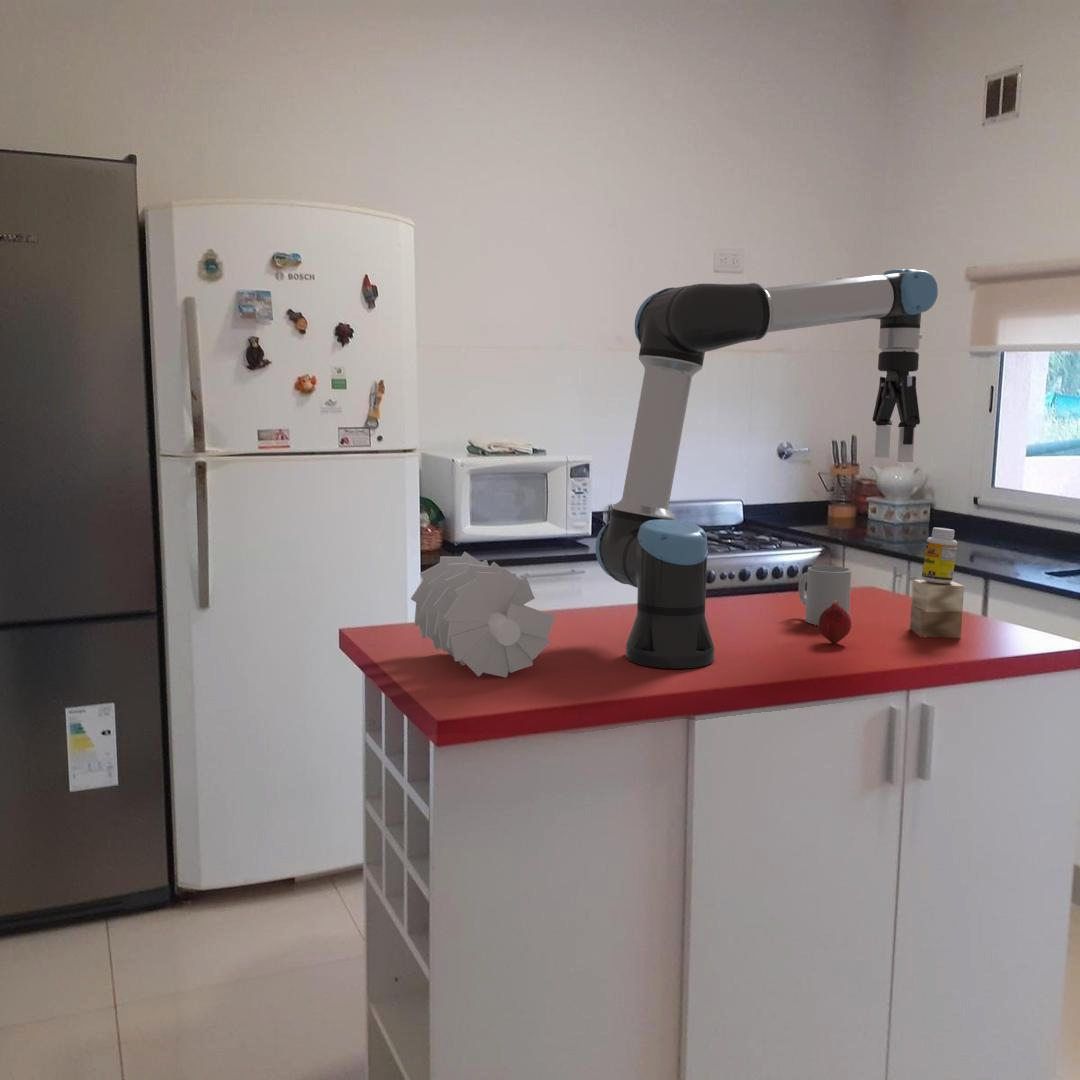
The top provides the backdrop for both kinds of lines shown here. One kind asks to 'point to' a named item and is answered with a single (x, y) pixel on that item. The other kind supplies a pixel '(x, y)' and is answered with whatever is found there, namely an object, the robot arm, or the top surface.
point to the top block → (937, 596)
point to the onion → (834, 623)
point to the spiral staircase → (480, 615)
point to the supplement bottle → (940, 556)
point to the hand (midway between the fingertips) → (893, 459)
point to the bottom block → (936, 623)
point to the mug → (824, 590)
